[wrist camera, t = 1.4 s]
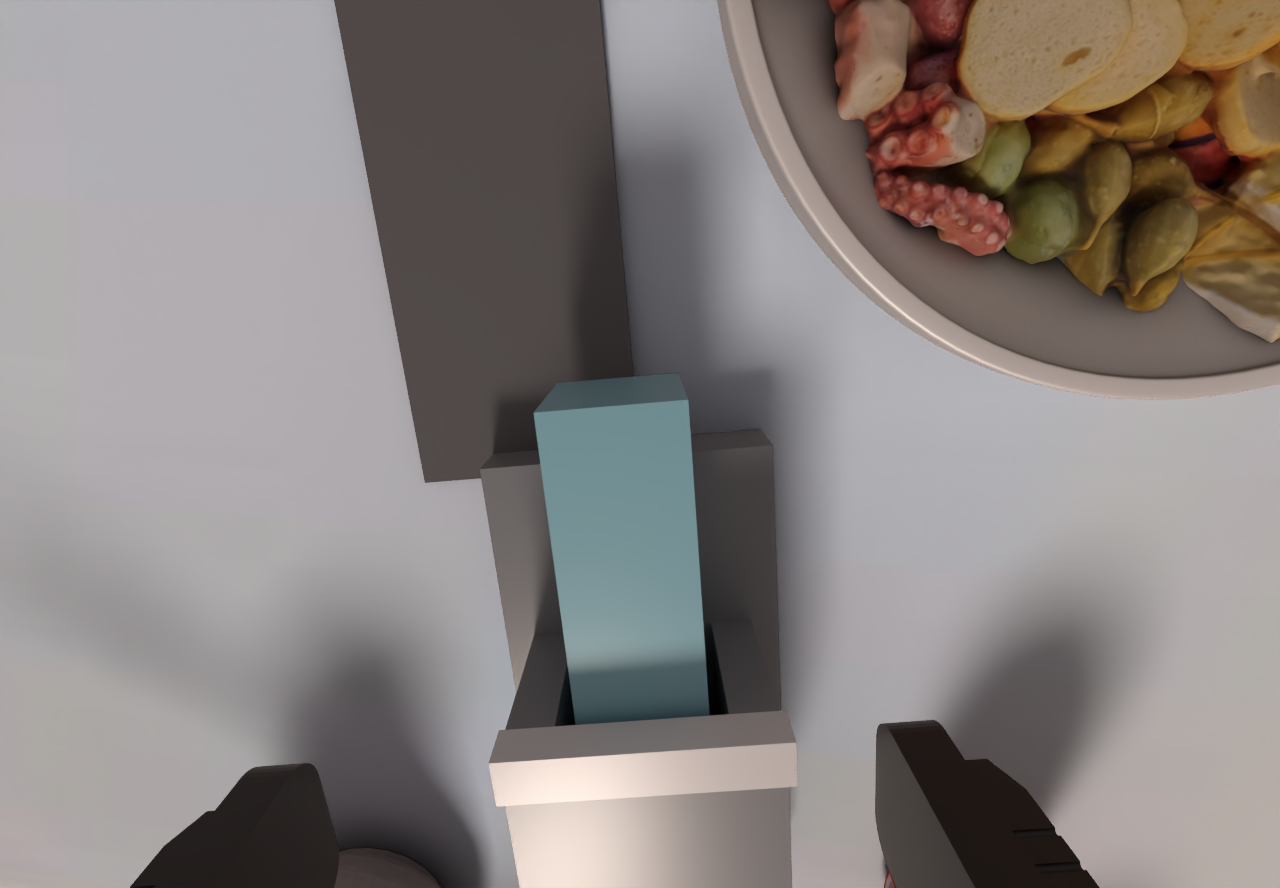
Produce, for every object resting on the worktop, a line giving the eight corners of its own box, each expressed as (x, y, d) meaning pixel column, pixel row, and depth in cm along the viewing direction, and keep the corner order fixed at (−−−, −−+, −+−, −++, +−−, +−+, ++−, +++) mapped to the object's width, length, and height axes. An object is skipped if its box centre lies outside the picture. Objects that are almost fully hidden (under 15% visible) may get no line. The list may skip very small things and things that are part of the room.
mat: (595, -42, 21) (595, -49, 21) (641, 462, 26) (641, 465, 25) (336, -15, 21) (330, -21, 21) (428, 479, 26) (424, 482, 26)
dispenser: (760, 429, 25) (824, 513, 16) (775, 851, 31) (829, 1085, 22) (495, 450, 26) (415, 545, 17) (559, 865, 31) (525, 1101, 22)
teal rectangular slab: (678, 372, 22) (688, 399, 17) (701, 703, 26) (715, 801, 21) (557, 382, 22) (533, 412, 17) (597, 710, 26) (587, 810, 21)
